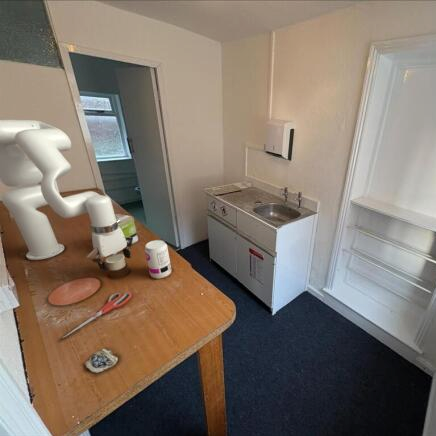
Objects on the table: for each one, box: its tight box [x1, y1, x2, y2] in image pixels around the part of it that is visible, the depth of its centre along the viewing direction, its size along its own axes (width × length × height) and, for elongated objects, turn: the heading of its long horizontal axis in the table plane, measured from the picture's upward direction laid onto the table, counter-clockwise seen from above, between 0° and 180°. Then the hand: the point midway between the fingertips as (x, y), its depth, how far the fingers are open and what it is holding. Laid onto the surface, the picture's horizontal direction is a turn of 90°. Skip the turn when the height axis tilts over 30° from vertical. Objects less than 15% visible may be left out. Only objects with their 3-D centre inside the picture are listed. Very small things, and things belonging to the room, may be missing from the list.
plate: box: [47, 277, 101, 306], centre depth 89 cm, size 15×15×1 cm
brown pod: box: [107, 261, 129, 279], centre depth 99 cm, size 7×7×4 cm
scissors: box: [62, 292, 133, 339], centre depth 80 cm, size 8×21×2 cm, turn 170°
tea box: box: [89, 213, 139, 256], centre depth 115 cm, size 15×10×15 cm, turn 168°
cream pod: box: [105, 253, 126, 270], centre depth 97 cm, size 6×6×4 cm
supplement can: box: [144, 239, 172, 280], centre depth 99 cm, size 8×8×15 cm
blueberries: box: [84, 348, 119, 374], centre depth 66 cm, size 7×8×2 cm
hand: (116, 263), depth 97 cm, fingers open, 9 cm apart
